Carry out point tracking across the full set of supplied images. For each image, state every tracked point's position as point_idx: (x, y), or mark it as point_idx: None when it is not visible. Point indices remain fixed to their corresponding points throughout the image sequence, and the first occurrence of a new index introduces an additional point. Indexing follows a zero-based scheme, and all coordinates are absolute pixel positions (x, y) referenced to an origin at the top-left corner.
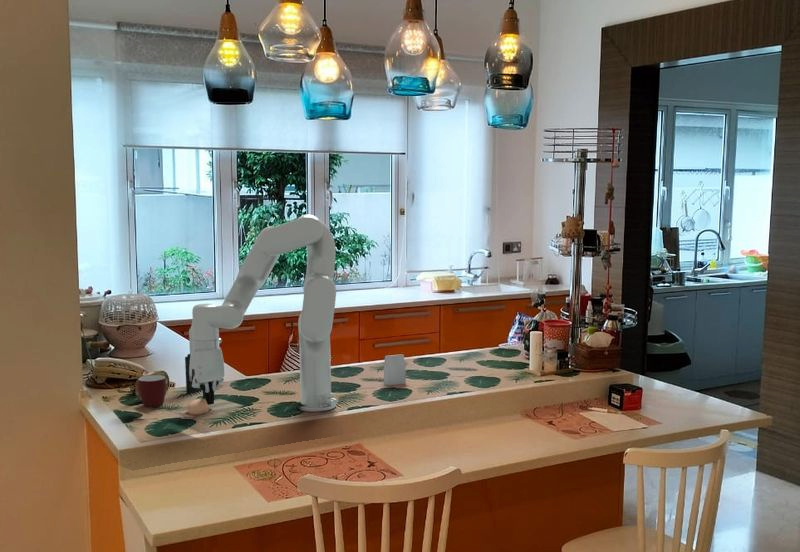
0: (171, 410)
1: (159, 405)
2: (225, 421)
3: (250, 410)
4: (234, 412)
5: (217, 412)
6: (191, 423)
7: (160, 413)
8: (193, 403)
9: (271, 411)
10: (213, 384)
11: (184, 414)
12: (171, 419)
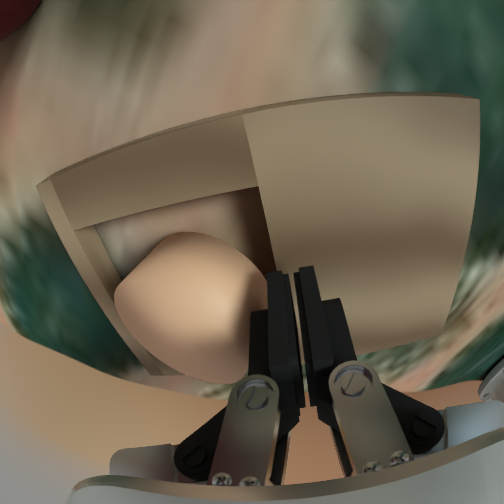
0: (44, 182)
1: (5, 34)
2: None
3: None
4: None
5: None
6: None
7: (21, 92)
8: (159, 316)
9: (458, 360)
10: (347, 463)
11: (110, 305)
12: (61, 245)
